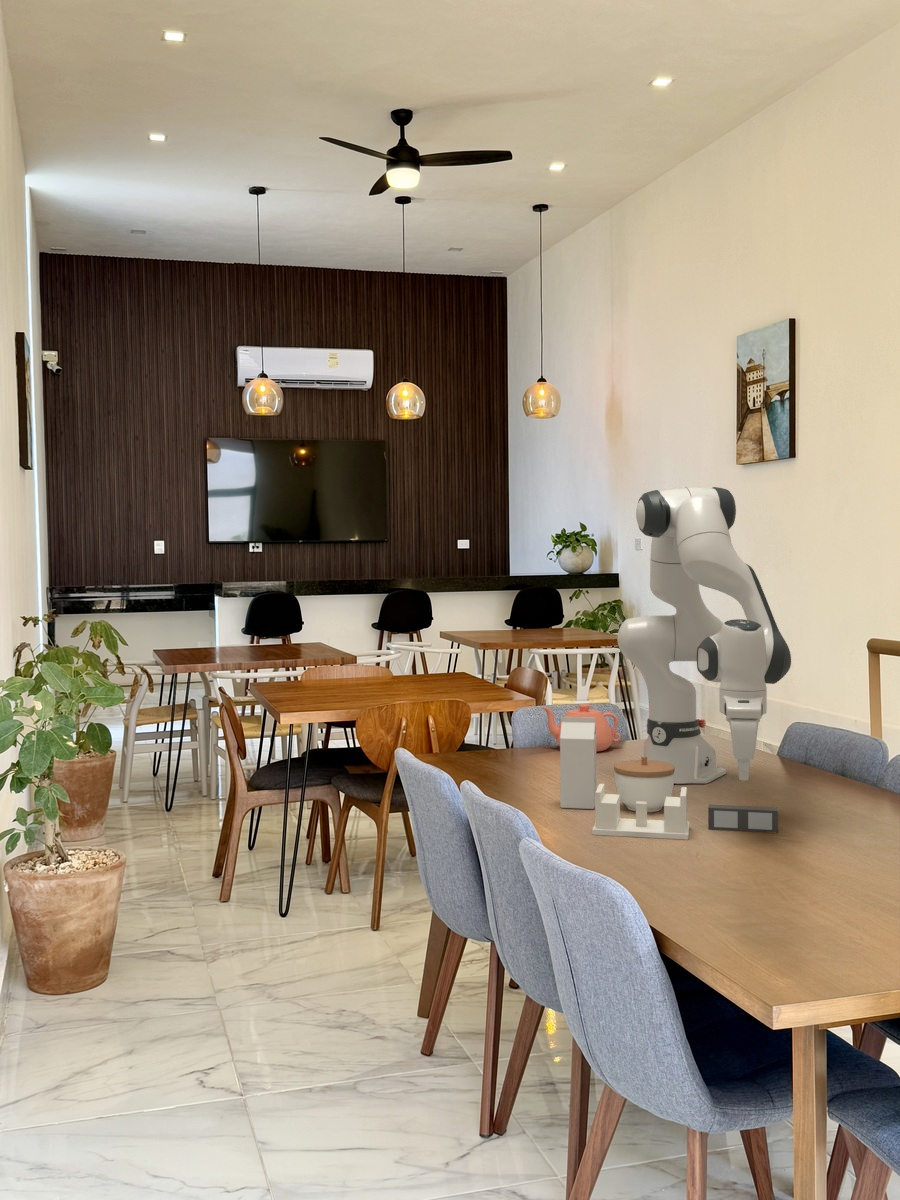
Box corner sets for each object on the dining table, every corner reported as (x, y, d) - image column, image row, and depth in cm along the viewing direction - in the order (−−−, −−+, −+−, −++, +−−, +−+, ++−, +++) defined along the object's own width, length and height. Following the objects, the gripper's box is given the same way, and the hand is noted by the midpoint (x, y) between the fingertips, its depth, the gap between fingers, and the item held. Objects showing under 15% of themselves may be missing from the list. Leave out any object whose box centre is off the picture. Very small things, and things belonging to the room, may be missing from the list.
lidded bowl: (638, 818, 221) (638, 764, 220) (602, 805, 232) (602, 754, 232) (687, 811, 227) (687, 758, 226) (649, 799, 238) (649, 749, 237)
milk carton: (594, 809, 228) (593, 720, 228) (560, 808, 230) (559, 719, 229) (596, 802, 235) (596, 715, 235) (563, 801, 237) (563, 714, 236)
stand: (592, 834, 208) (592, 793, 208) (597, 822, 218) (597, 782, 218) (688, 839, 204) (688, 797, 204) (689, 826, 214) (689, 786, 213)
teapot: (543, 754, 291) (543, 708, 291) (538, 744, 307) (538, 700, 306) (625, 754, 291) (625, 708, 291) (616, 744, 307) (616, 700, 306)
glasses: (708, 830, 211) (708, 807, 211) (708, 826, 214) (708, 804, 214) (777, 834, 208) (778, 811, 208) (777, 830, 211) (777, 807, 211)
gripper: (725, 697, 221) (725, 764, 221) (726, 710, 201) (726, 784, 201) (758, 698, 219) (758, 766, 220) (761, 710, 200) (761, 785, 200)
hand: (743, 775), depth 210 cm, fingers open, 8 cm apart
